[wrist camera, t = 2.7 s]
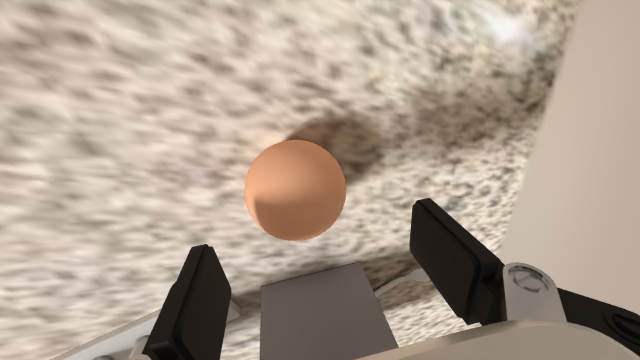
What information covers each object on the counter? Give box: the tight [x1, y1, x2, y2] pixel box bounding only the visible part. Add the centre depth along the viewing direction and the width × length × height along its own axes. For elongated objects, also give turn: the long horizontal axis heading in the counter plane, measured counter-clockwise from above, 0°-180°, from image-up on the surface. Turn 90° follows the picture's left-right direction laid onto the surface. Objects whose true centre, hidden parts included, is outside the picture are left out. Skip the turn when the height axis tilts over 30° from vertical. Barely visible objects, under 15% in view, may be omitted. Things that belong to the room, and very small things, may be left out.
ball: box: [244, 140, 346, 241], centre depth 14 cm, size 6×6×6 cm
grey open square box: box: [260, 262, 399, 360], centre depth 20 cm, size 10×10×10 cm
